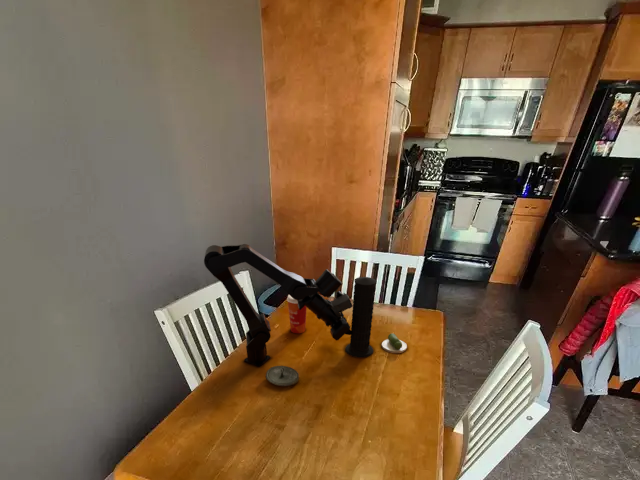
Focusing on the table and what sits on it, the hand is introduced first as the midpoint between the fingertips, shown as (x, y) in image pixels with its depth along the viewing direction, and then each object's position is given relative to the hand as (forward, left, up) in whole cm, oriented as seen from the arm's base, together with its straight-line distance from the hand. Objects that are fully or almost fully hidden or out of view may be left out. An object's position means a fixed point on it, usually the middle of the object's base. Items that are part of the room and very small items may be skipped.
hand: (351, 333), depth 125 cm
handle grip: (+2, -3, -7) cm, 8 cm away
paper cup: (+3, +24, -7) cm, 25 cm away
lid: (-27, +10, -7) cm, 30 cm away
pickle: (+11, -12, -7) cm, 18 cm away
